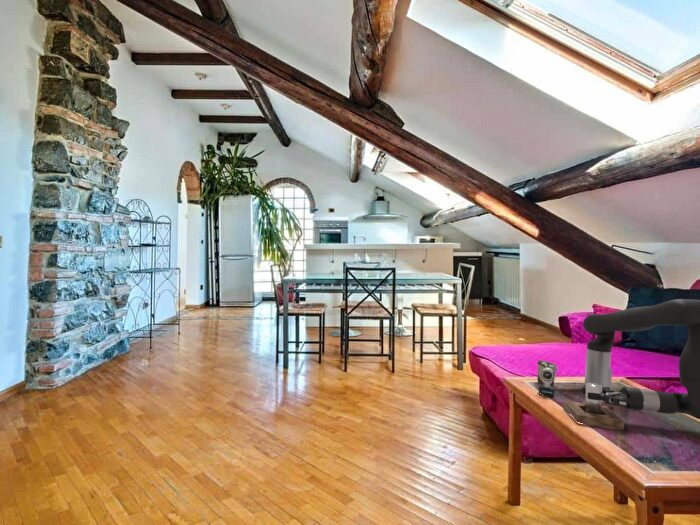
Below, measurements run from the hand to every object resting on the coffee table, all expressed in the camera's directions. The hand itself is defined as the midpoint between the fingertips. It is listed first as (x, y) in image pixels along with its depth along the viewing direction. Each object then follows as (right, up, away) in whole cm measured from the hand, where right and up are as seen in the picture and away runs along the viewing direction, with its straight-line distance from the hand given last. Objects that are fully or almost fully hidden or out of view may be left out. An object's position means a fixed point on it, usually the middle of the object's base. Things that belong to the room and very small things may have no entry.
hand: (585, 393), depth 134 cm
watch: (-2, -9, +23) cm, 25 cm away
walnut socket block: (+2, -9, 0) cm, 10 cm away
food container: (+5, -9, +35) cm, 36 cm away
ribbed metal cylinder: (+2, -7, -1) cm, 7 cm away
